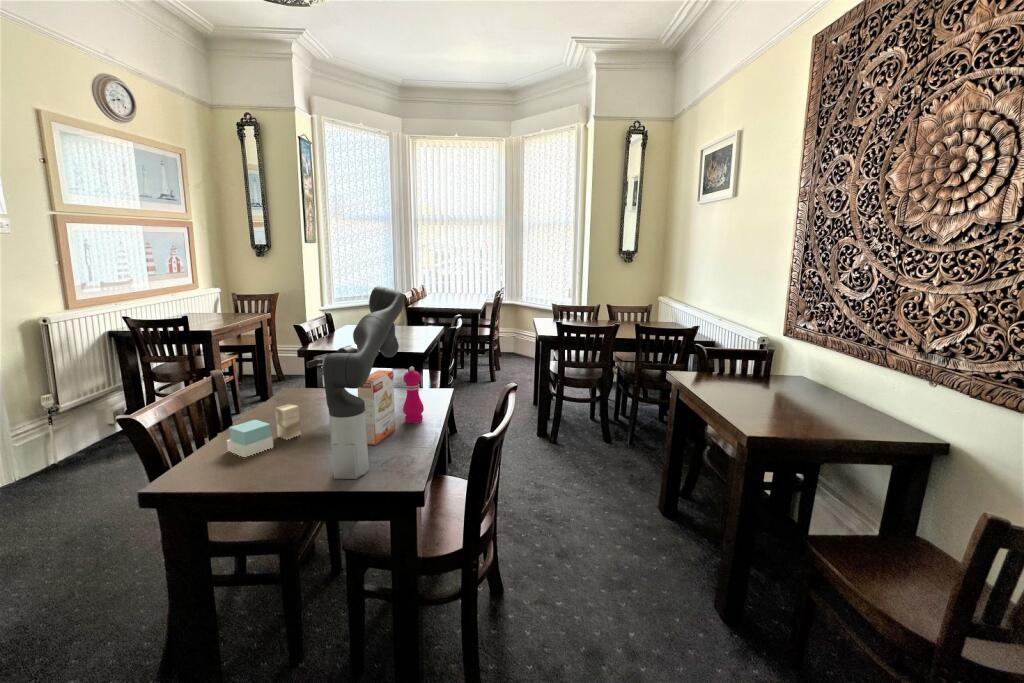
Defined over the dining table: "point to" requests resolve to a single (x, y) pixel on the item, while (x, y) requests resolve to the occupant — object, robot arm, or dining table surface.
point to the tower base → (249, 447)
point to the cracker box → (378, 405)
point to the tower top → (250, 432)
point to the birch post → (288, 421)
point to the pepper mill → (412, 397)
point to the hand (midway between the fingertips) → (314, 367)
